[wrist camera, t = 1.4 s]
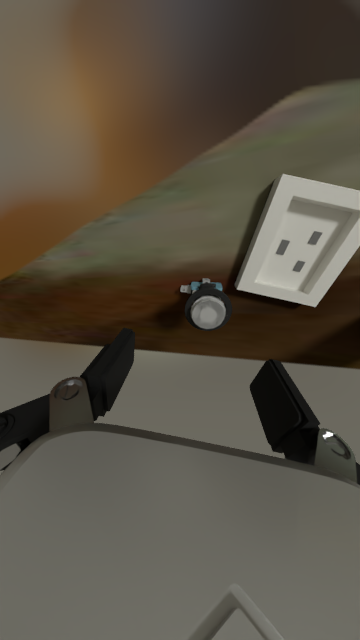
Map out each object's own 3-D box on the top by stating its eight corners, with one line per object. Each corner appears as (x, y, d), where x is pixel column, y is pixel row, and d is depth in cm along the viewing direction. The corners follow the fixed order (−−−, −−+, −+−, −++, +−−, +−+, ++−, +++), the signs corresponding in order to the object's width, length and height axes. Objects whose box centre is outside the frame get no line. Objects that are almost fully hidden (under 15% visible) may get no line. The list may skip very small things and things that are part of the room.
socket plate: (374, 201, 18) (393, 198, 16) (306, 301, 24) (315, 306, 23) (274, 179, 18) (282, 173, 16) (234, 285, 25) (236, 289, 23)
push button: (181, 301, 27) (172, 332, 18) (181, 270, 24) (171, 290, 16) (219, 303, 26) (229, 336, 18) (224, 271, 24) (238, 293, 15)
